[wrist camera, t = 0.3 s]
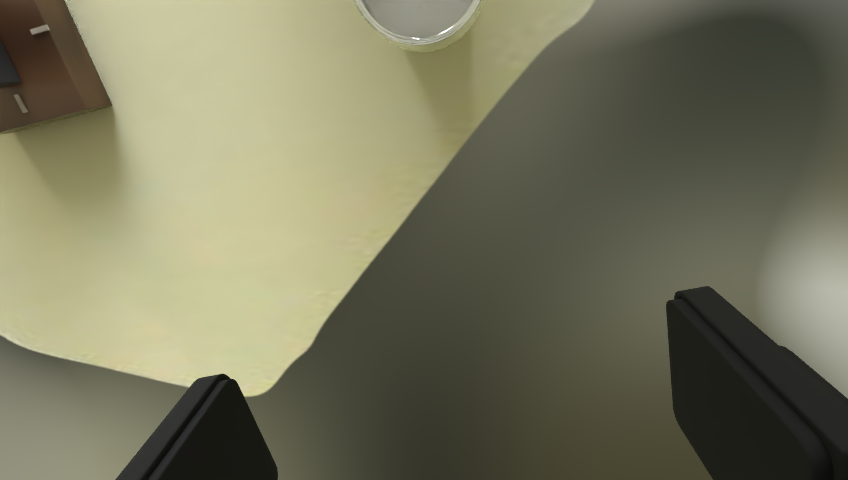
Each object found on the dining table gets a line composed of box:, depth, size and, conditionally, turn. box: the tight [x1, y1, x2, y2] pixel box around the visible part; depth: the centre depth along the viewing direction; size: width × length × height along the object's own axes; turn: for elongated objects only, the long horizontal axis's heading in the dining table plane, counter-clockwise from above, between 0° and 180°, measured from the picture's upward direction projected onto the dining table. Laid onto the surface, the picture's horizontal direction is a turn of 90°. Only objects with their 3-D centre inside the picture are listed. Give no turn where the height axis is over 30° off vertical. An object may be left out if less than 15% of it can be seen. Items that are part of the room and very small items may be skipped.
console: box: [0, 0, 112, 134], centre depth 36 cm, size 12×10×3 cm
